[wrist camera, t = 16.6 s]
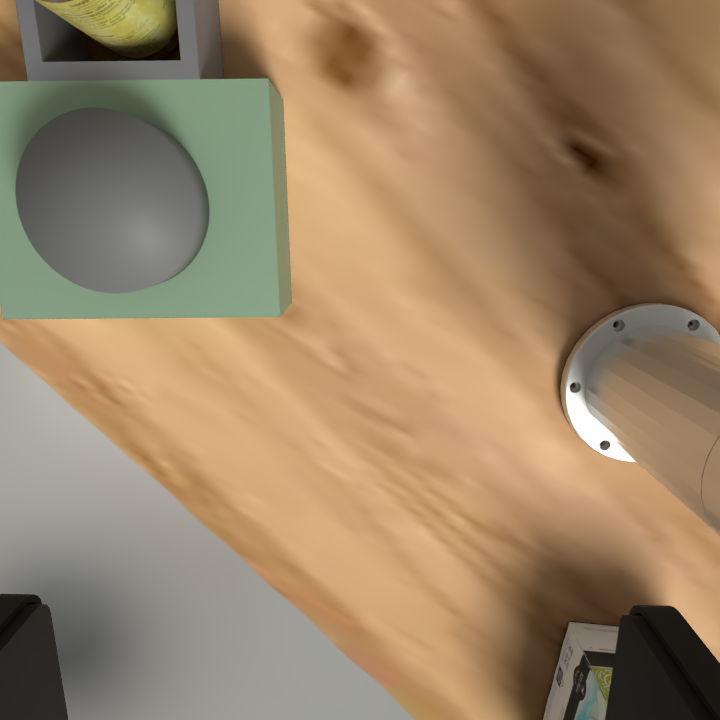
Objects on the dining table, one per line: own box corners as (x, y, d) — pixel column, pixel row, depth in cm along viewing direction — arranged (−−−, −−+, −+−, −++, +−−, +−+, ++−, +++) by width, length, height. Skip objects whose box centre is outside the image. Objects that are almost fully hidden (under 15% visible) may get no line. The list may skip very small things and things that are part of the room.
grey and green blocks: (275, -89, 34) (245, -194, 25) (291, 302, 40) (272, 325, 32) (-7, -85, 34) (-133, -188, 25) (54, 304, 41) (-30, 328, 32)
